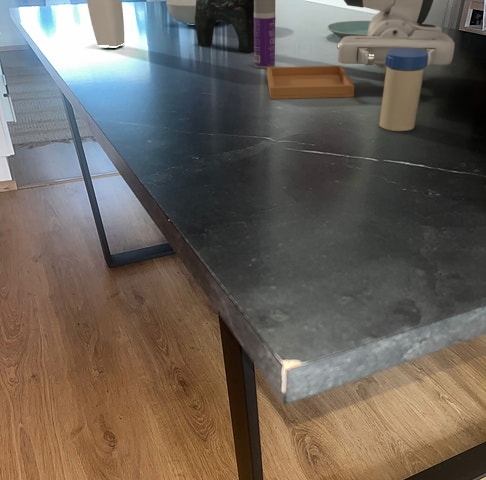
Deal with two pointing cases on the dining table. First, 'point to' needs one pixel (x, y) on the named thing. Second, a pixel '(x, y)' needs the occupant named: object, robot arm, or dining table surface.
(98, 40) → the cup
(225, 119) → the dining table surface
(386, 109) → the jar
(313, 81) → the tray
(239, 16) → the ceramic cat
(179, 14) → the serving bowl
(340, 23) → the plate
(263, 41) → the container
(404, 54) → the lid
